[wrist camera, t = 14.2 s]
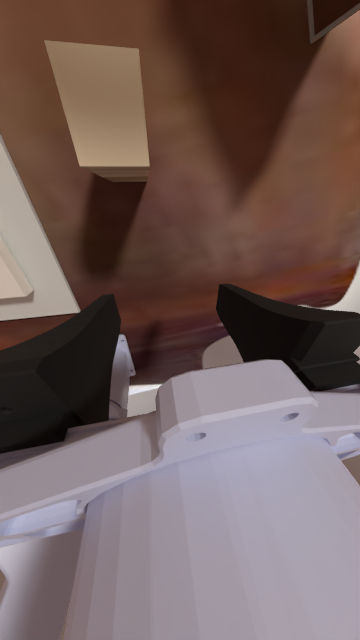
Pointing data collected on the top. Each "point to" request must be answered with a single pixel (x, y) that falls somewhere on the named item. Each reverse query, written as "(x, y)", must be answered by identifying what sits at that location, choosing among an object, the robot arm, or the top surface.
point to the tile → (11, 275)
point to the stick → (103, 108)
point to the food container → (328, 15)
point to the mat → (29, 251)
